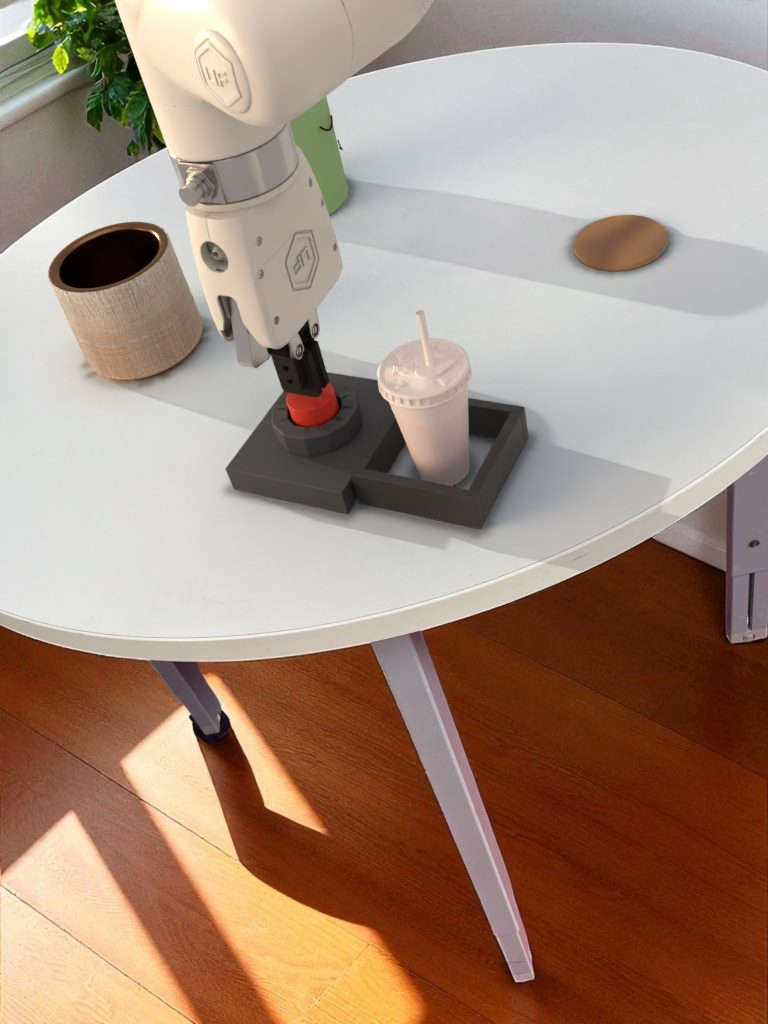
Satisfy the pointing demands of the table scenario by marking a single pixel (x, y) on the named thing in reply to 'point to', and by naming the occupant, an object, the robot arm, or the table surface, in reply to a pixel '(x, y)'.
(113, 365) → the planter
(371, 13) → the robot arm
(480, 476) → the frame
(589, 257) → the coaster
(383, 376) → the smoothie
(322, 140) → the mug
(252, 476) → the button base
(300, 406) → the stop button
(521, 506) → the table surface
